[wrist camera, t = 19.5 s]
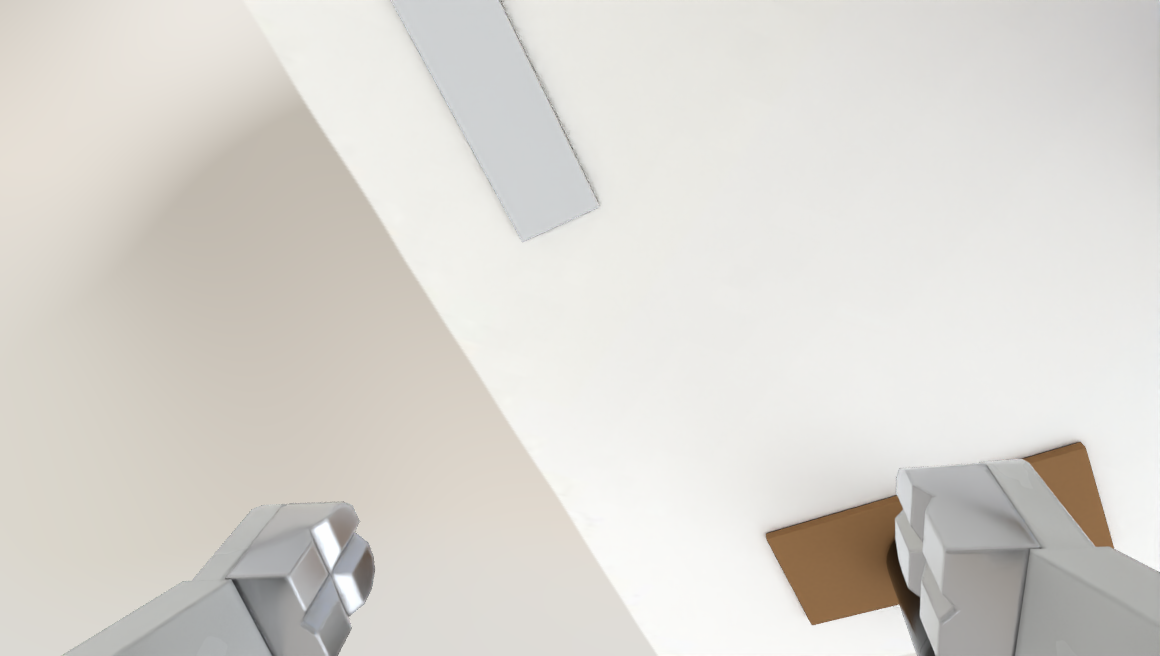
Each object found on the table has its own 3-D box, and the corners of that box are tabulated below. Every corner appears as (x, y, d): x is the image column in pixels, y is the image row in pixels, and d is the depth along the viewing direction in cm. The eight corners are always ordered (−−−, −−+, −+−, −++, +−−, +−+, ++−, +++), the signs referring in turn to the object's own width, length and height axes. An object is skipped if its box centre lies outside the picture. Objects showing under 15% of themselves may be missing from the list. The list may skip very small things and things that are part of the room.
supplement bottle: (933, 498, 43) (1019, 663, 32) (1015, 546, 44) (1126, 723, 33) (860, 561, 46) (917, 731, 35) (939, 605, 47) (1017, 784, 36)
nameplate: (392, -220, 30) (307, -158, 32) (389, -223, 30) (303, -159, 31) (599, 205, 38) (523, 240, 39) (599, 207, 37) (522, 242, 39)
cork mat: (1080, 441, 40) (1085, 447, 40) (1110, 545, 43) (1115, 552, 43) (765, 533, 47) (766, 539, 46) (810, 619, 50) (811, 625, 49)
